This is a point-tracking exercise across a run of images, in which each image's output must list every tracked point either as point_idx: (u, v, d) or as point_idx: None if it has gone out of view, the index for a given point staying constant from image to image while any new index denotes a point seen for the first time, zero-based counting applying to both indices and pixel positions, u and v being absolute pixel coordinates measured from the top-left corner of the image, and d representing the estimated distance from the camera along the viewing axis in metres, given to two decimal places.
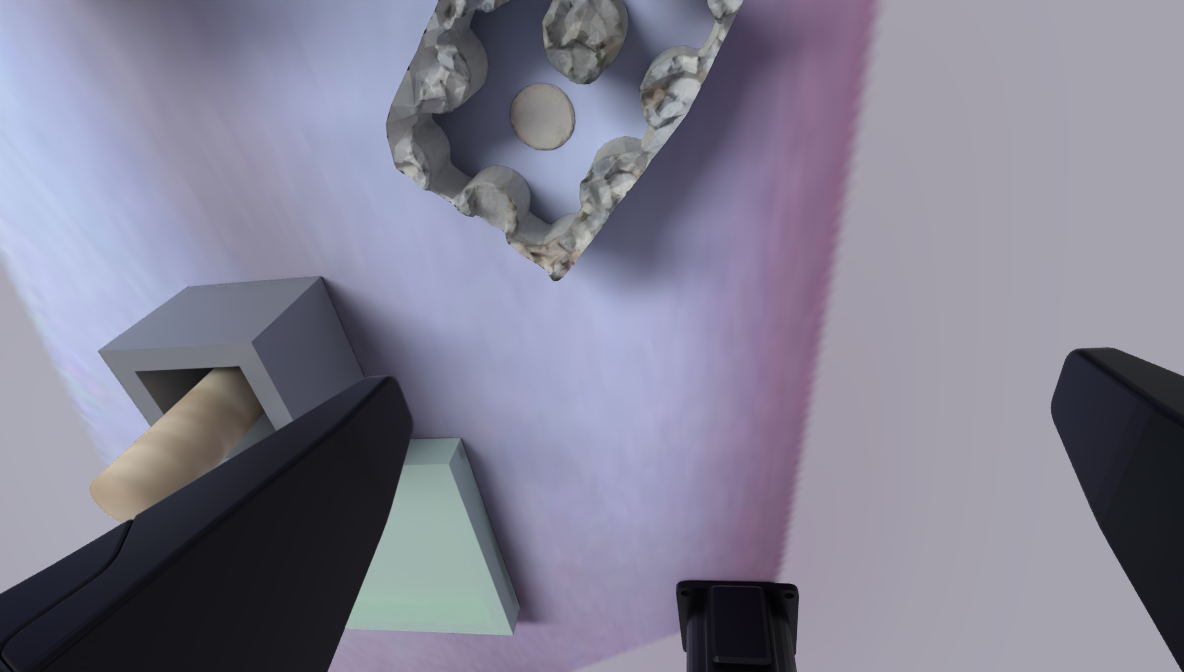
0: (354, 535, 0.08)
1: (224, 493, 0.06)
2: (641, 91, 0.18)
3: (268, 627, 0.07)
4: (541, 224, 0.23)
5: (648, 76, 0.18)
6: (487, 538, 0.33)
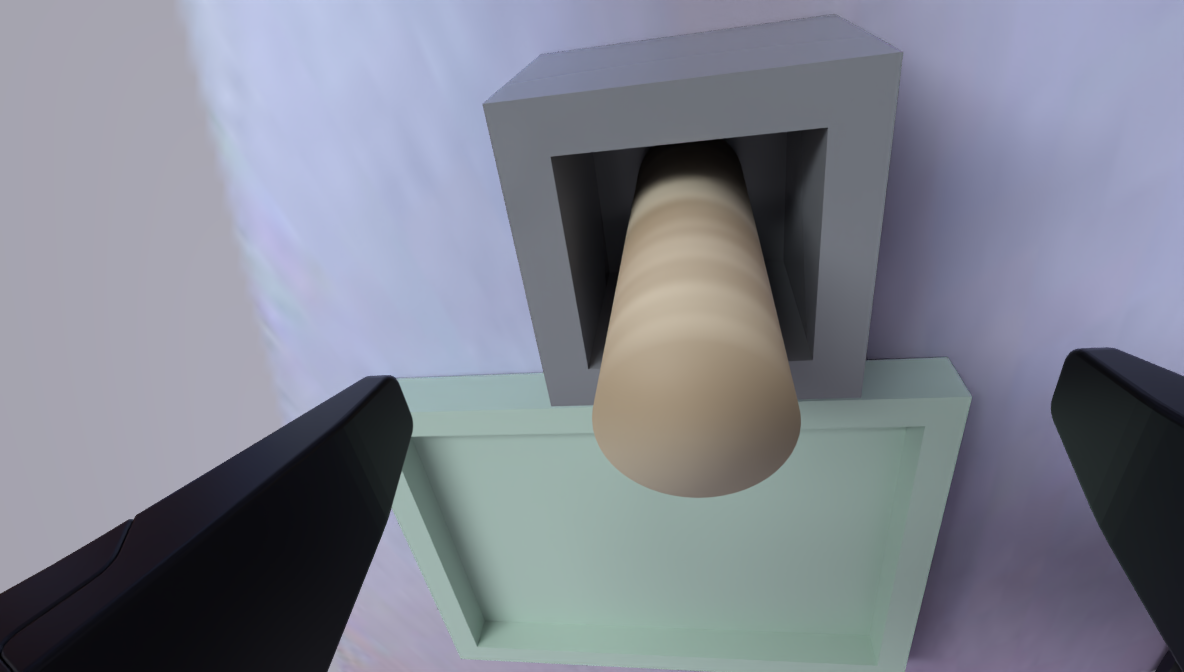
0: (354, 535, 0.08)
1: (224, 493, 0.06)
2: None
3: (268, 627, 0.07)
4: None
5: None
6: None
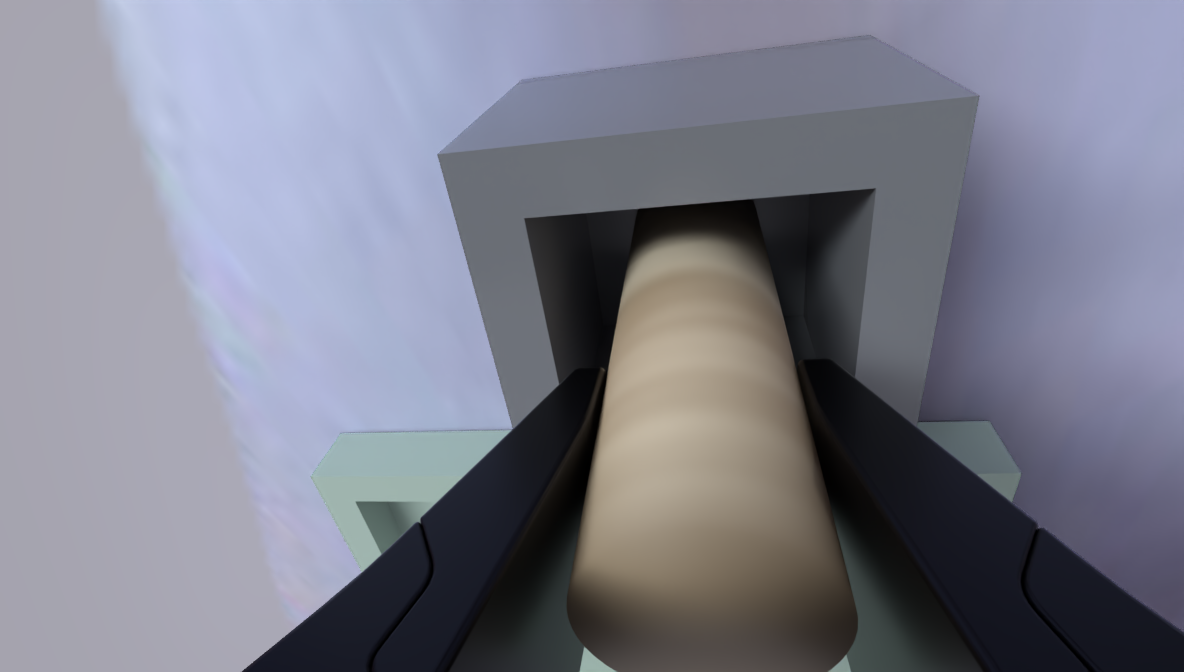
0: None
1: (509, 493, 0.06)
2: None
3: (549, 640, 0.06)
4: None
5: None
6: None
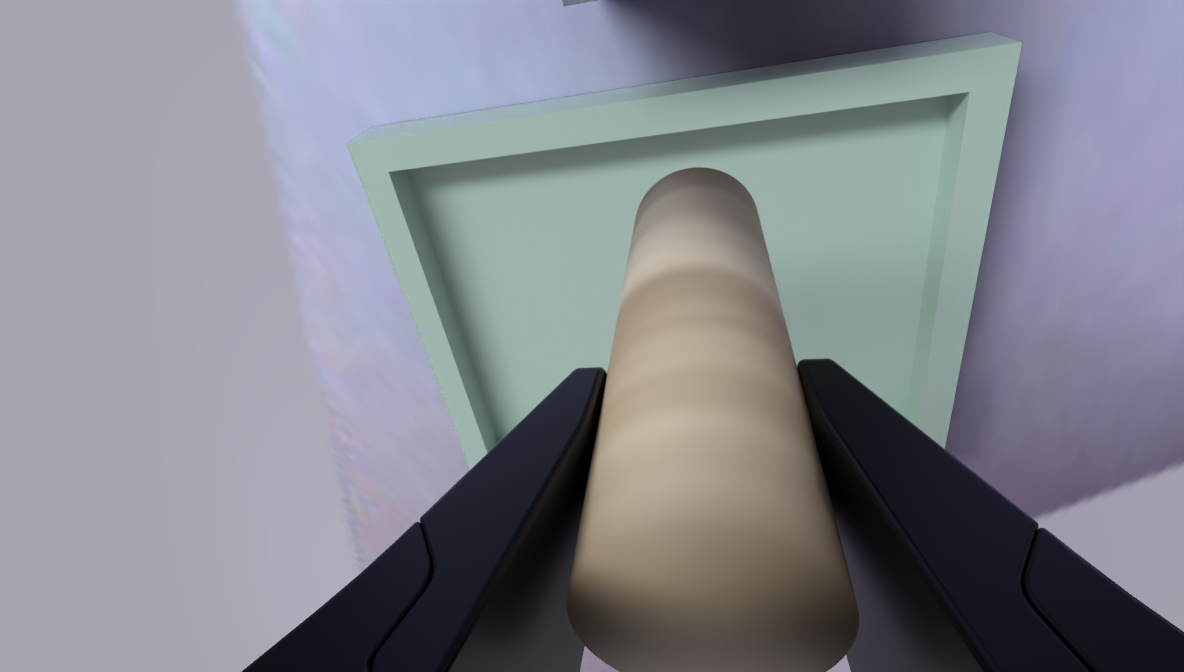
0: None
1: (509, 493, 0.06)
2: None
3: (549, 640, 0.06)
4: None
5: None
6: None
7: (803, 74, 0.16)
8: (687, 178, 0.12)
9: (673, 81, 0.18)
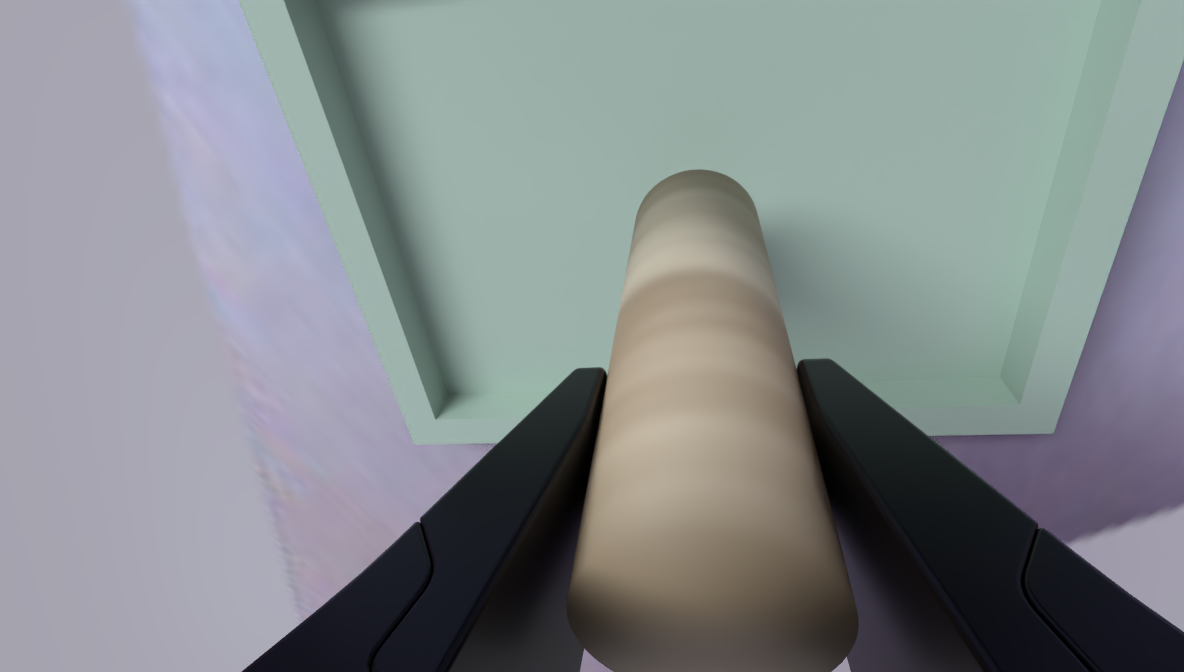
0: None
1: (509, 493, 0.06)
2: None
3: (549, 640, 0.06)
4: None
5: None
6: None
7: None
8: (686, 181, 0.12)
9: None
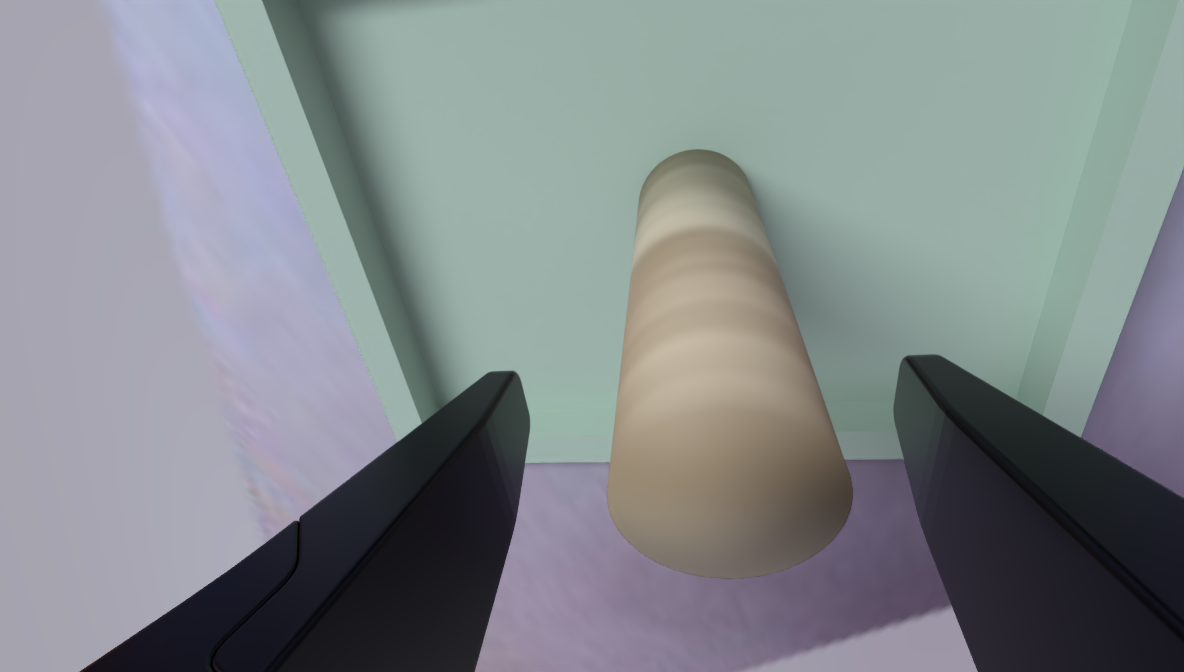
0: (492, 537, 0.08)
1: (388, 493, 0.06)
2: None
3: (430, 635, 0.06)
4: None
5: None
6: None
7: None
8: (687, 159, 0.13)
9: None
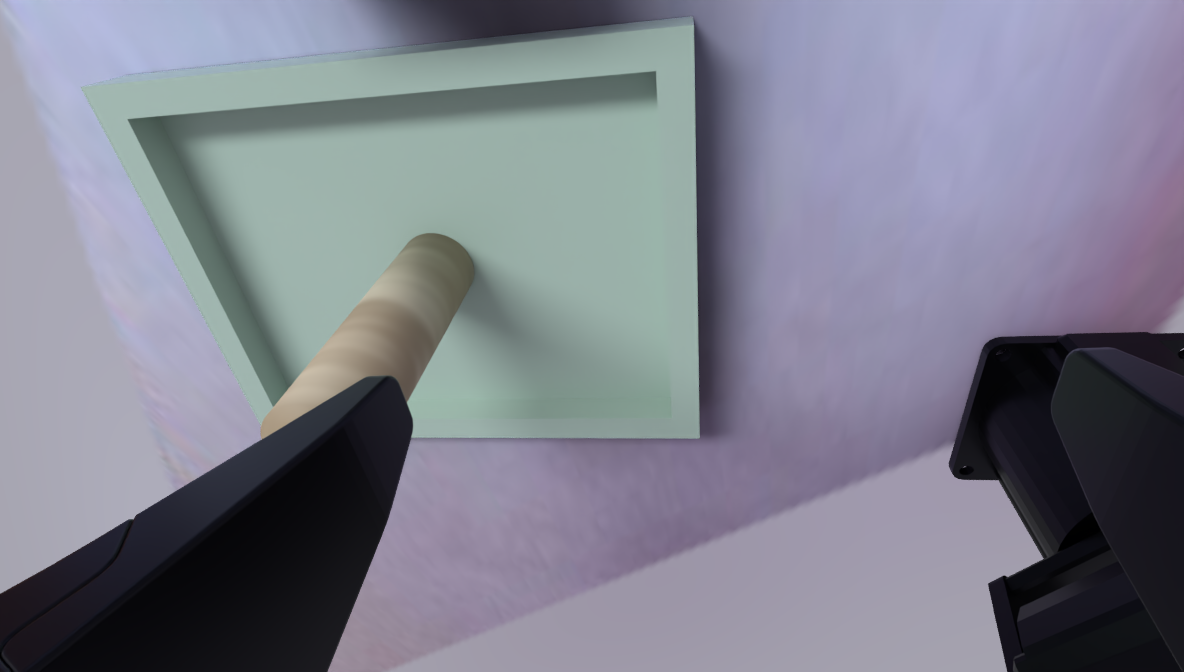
0: (354, 535, 0.08)
1: (224, 493, 0.06)
2: None
3: (268, 627, 0.07)
4: None
5: None
6: None
7: (502, 44, 0.16)
8: (419, 241, 0.20)
9: (405, 46, 0.18)
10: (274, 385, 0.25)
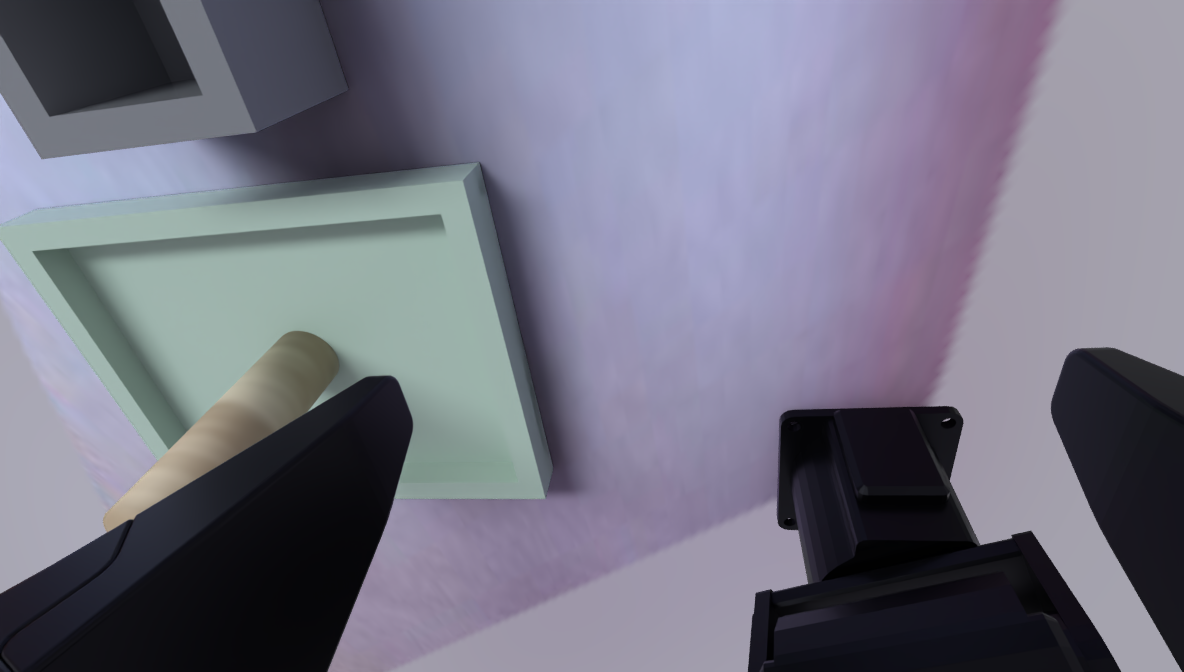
0: (354, 535, 0.08)
1: (224, 493, 0.06)
2: None
3: (268, 627, 0.07)
4: None
5: None
6: (514, 340, 0.23)
7: (316, 194, 0.20)
8: (284, 340, 0.24)
9: (254, 187, 0.22)
10: None
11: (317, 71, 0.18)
